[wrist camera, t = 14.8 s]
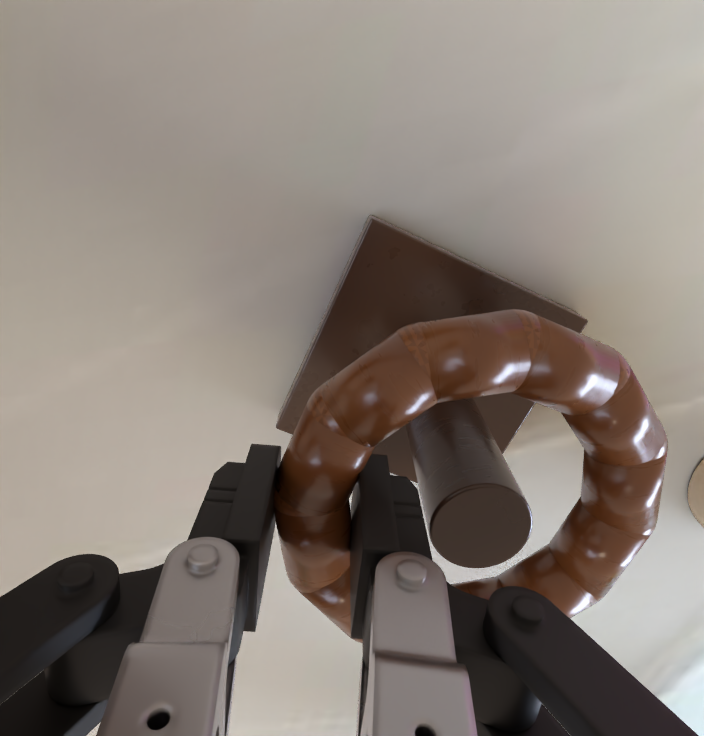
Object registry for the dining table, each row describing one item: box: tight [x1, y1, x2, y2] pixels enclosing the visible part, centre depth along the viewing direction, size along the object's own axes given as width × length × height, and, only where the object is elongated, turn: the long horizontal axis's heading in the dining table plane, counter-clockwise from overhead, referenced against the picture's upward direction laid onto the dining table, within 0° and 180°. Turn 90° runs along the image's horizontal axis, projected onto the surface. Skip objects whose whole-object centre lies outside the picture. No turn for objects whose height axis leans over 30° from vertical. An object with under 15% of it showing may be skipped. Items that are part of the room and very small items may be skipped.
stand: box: [276, 215, 588, 568], centre depth 17 cm, size 9×9×10 cm
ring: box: [274, 309, 668, 643], centre depth 13 cm, size 10×10×2 cm
